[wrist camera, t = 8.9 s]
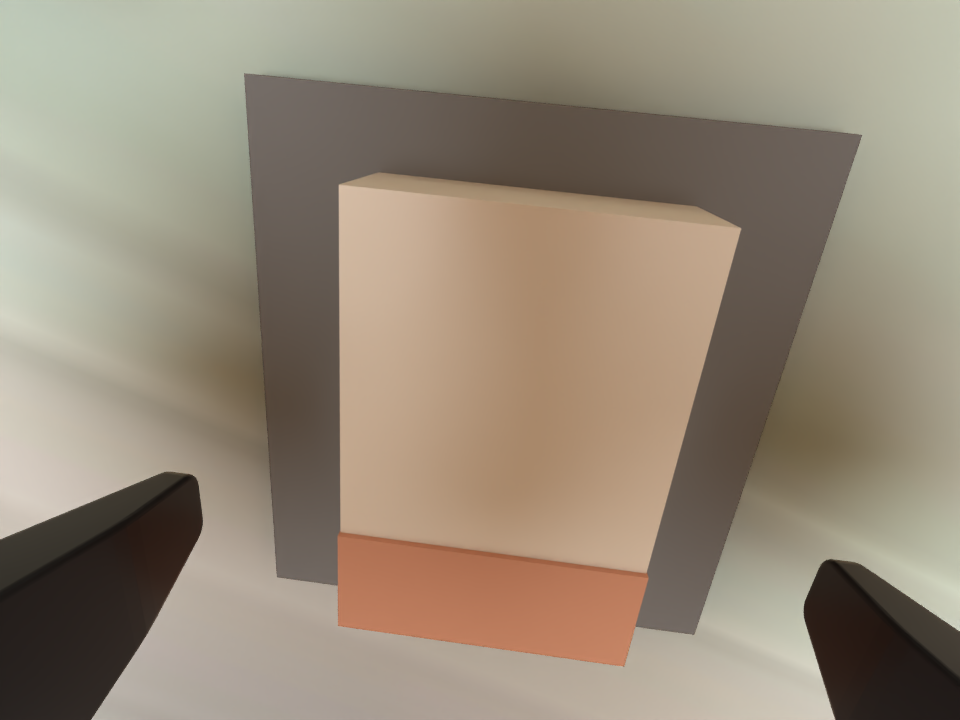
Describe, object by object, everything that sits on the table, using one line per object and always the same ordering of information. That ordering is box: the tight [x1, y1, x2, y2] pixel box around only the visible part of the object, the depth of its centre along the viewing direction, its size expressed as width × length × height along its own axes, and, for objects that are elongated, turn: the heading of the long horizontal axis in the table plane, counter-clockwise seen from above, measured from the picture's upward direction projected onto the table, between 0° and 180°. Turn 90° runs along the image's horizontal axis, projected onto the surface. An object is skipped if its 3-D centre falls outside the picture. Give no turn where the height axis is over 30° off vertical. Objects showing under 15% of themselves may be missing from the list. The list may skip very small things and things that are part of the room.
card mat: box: [244, 73, 862, 635], centre depth 13 cm, size 12×11×1 cm
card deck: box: [338, 172, 741, 666], centre depth 11 cm, size 6×9×2 cm, turn 175°
